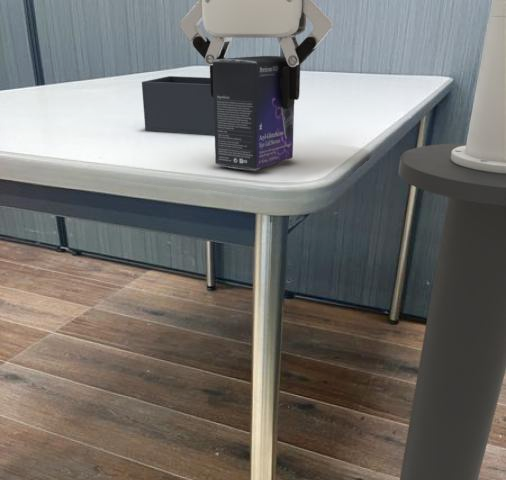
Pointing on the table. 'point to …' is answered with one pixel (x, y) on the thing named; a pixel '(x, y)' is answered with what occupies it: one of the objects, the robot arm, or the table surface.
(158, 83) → the box
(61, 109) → the table surface
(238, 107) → the box
